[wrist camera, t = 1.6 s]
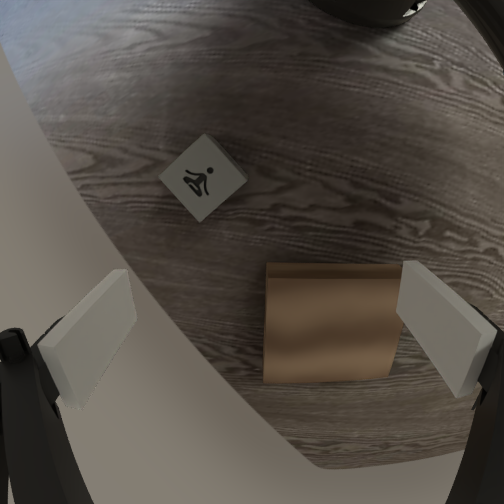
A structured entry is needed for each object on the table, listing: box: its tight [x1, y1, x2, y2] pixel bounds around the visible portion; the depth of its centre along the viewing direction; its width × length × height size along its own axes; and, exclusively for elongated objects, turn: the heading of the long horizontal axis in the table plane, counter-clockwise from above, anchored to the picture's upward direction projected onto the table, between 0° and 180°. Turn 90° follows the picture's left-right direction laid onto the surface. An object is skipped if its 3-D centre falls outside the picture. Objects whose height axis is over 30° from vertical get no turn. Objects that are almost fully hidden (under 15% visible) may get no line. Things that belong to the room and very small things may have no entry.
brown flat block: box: [263, 262, 404, 383], centre depth 31 cm, size 12×14×4 cm
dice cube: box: [158, 133, 249, 223], centre depth 26 cm, size 5×5×5 cm
